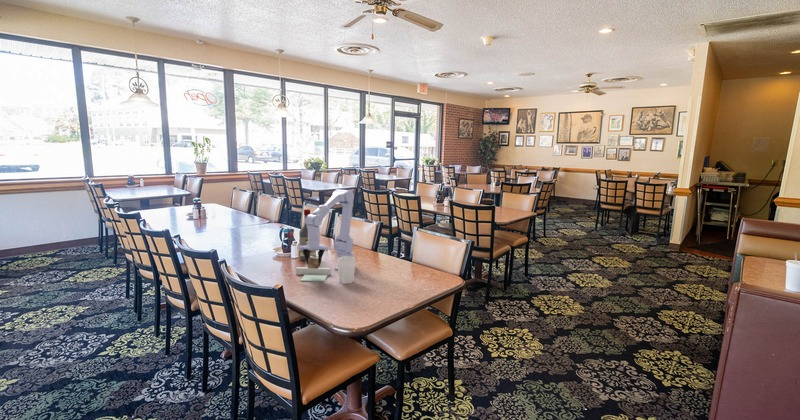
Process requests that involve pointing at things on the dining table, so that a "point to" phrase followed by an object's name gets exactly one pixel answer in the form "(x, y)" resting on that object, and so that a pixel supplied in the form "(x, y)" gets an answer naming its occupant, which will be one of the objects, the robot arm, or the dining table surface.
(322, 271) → the grey screen
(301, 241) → the liquor
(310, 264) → the walnut cube
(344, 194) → the robot arm
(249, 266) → the dining table surface
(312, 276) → the sage mat
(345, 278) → the cup
